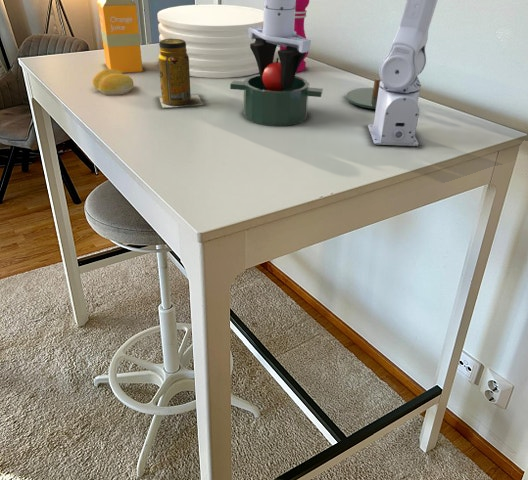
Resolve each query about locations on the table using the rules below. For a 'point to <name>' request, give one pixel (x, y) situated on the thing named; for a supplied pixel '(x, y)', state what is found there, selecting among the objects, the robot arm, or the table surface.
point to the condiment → (175, 75)
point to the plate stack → (214, 37)
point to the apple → (273, 77)
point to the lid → (365, 95)
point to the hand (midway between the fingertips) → (276, 84)
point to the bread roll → (112, 82)
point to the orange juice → (120, 35)
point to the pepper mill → (300, 26)
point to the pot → (275, 101)
